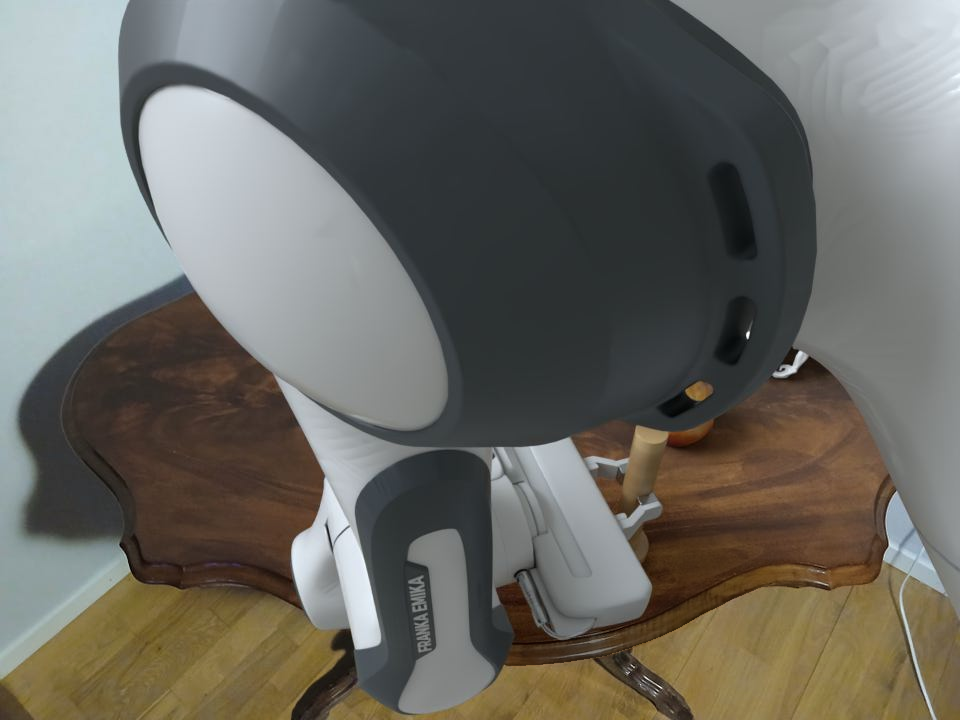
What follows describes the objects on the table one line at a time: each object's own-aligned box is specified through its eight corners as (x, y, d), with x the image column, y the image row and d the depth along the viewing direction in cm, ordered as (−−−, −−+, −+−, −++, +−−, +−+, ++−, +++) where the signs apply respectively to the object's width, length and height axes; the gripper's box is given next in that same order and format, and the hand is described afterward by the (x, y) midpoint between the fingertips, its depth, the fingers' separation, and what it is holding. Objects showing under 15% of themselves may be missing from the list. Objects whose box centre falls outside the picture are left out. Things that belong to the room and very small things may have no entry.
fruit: (655, 375, 85) (696, 351, 78) (695, 432, 84) (740, 413, 77) (608, 408, 81) (647, 386, 74) (649, 468, 80) (692, 452, 73)
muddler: (646, 573, 68) (682, 457, 56) (596, 565, 68) (622, 449, 56) (647, 531, 71) (681, 413, 59) (599, 524, 71) (624, 405, 59)
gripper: (546, 626, 51) (720, 569, 54) (458, 416, 65) (600, 381, 68) (541, 665, 55) (702, 610, 58) (460, 461, 69) (593, 425, 72)
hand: (646, 485), depth 63 cm, fingers closed on muddler, 2 cm apart
